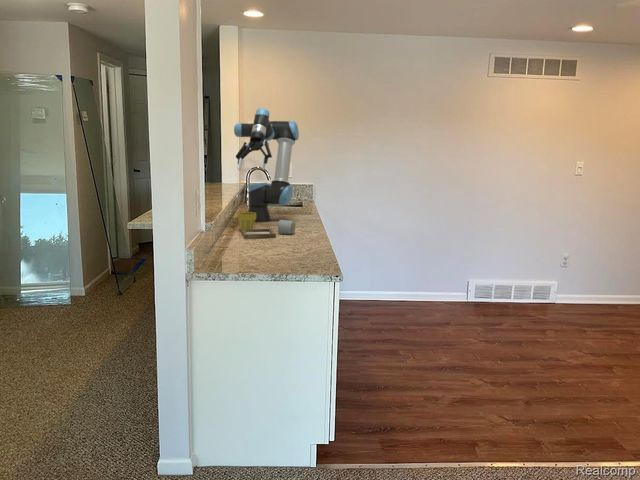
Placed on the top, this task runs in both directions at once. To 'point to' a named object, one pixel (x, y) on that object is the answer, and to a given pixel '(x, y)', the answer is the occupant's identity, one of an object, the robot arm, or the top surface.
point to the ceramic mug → (286, 227)
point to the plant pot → (246, 220)
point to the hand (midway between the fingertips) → (250, 169)
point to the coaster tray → (258, 233)
